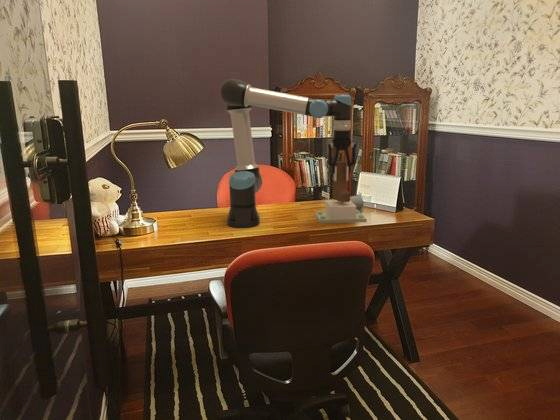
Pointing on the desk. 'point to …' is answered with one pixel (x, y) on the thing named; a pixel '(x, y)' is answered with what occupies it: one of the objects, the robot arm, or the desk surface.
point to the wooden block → (340, 183)
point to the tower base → (326, 220)
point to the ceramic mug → (357, 202)
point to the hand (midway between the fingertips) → (340, 180)
